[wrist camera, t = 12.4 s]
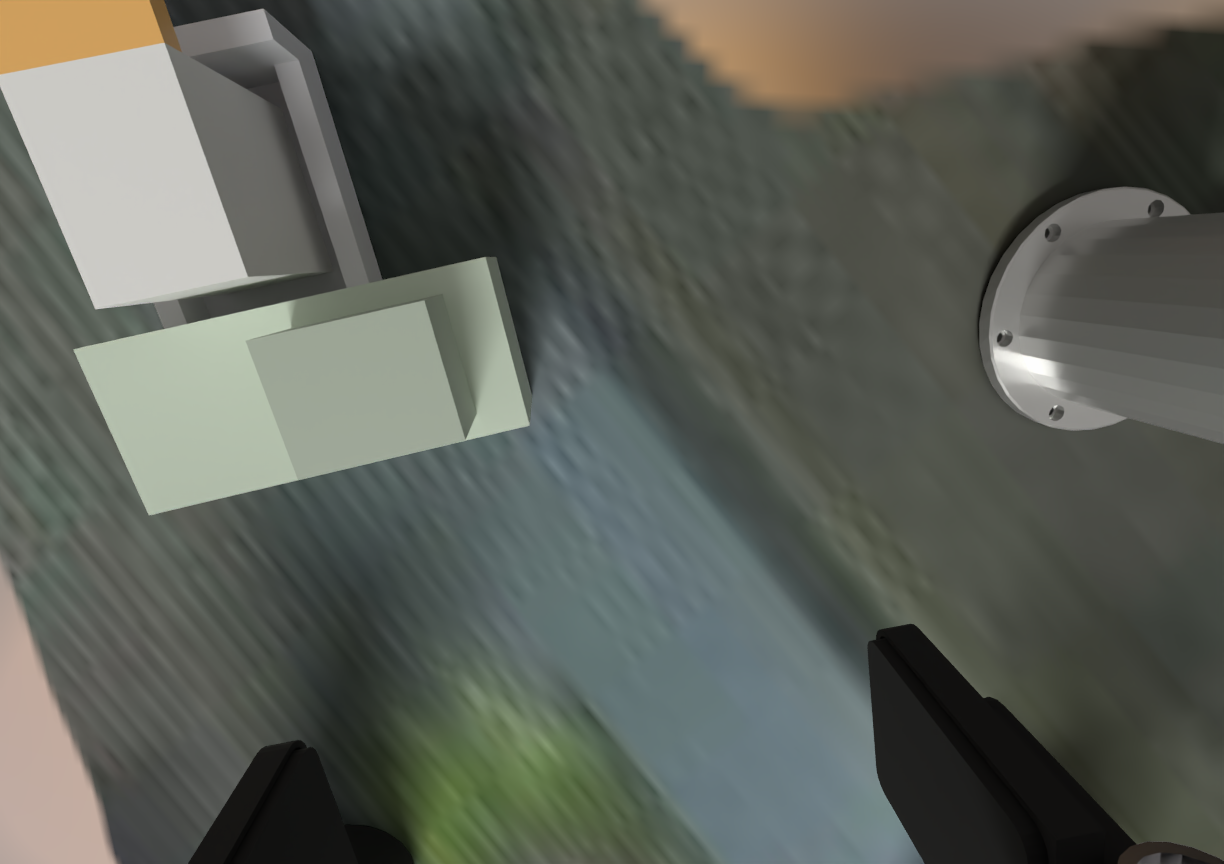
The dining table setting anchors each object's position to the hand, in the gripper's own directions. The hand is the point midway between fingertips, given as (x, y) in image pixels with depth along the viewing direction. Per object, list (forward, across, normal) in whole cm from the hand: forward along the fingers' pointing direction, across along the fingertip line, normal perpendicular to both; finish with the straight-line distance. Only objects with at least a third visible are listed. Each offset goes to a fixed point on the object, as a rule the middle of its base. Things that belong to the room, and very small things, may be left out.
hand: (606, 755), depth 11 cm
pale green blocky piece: (+23, +11, -9) cm, 27 cm away
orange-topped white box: (+23, +13, -12) cm, 29 cm away
